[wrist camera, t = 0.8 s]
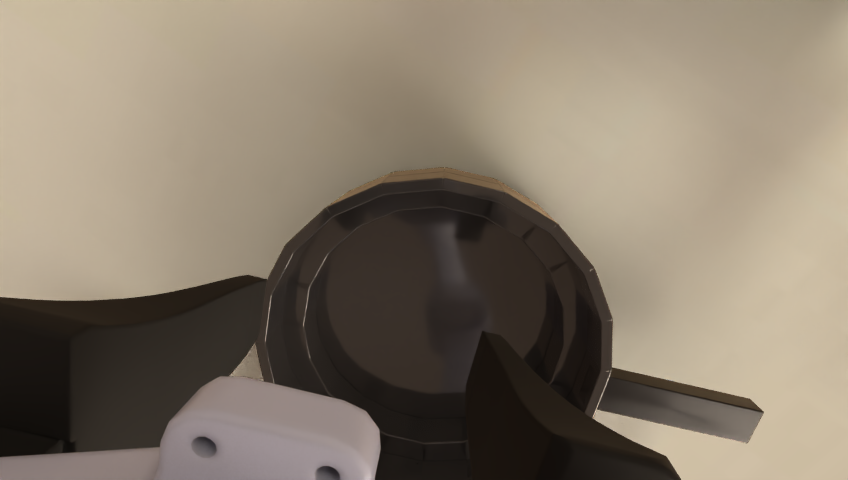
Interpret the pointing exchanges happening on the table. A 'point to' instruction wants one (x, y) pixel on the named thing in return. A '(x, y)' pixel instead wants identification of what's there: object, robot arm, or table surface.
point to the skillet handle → (680, 405)
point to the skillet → (431, 309)
